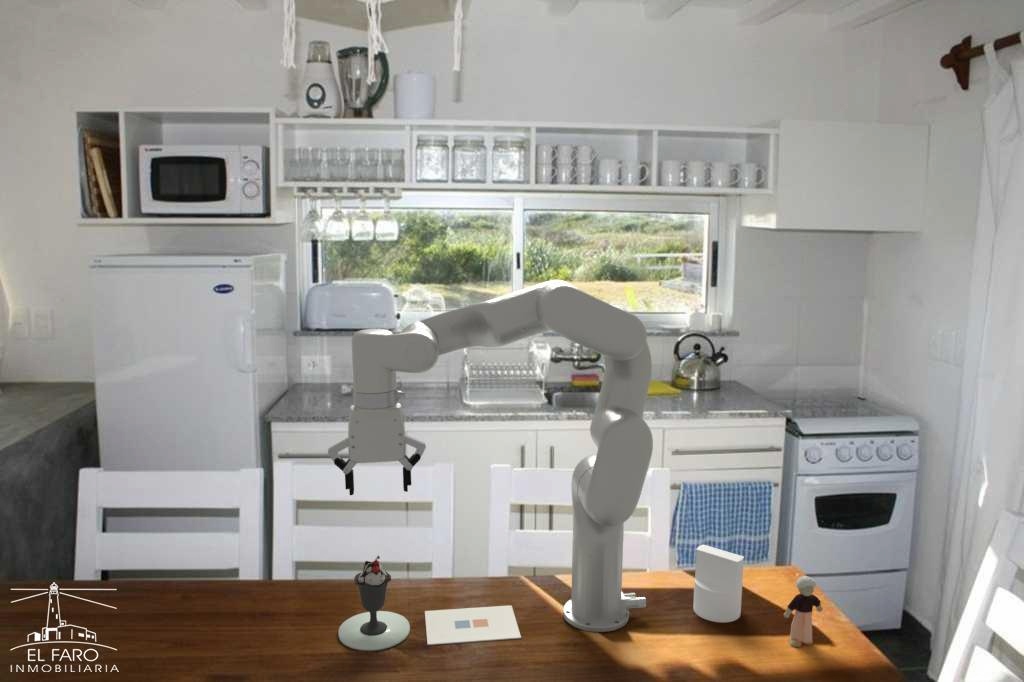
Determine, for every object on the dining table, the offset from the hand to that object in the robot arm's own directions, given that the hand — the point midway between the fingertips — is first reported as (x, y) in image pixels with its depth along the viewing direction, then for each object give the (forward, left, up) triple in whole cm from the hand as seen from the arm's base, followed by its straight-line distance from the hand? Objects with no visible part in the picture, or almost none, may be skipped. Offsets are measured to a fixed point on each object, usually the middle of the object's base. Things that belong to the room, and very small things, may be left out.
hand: (378, 490), depth 148 cm
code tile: (-17, +1, -27) cm, 31 cm away
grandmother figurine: (-76, +15, -27) cm, 82 cm away
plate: (+1, +1, -27) cm, 27 cm away
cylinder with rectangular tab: (-65, +2, -27) cm, 70 cm away
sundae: (+1, +1, -26) cm, 26 cm away
